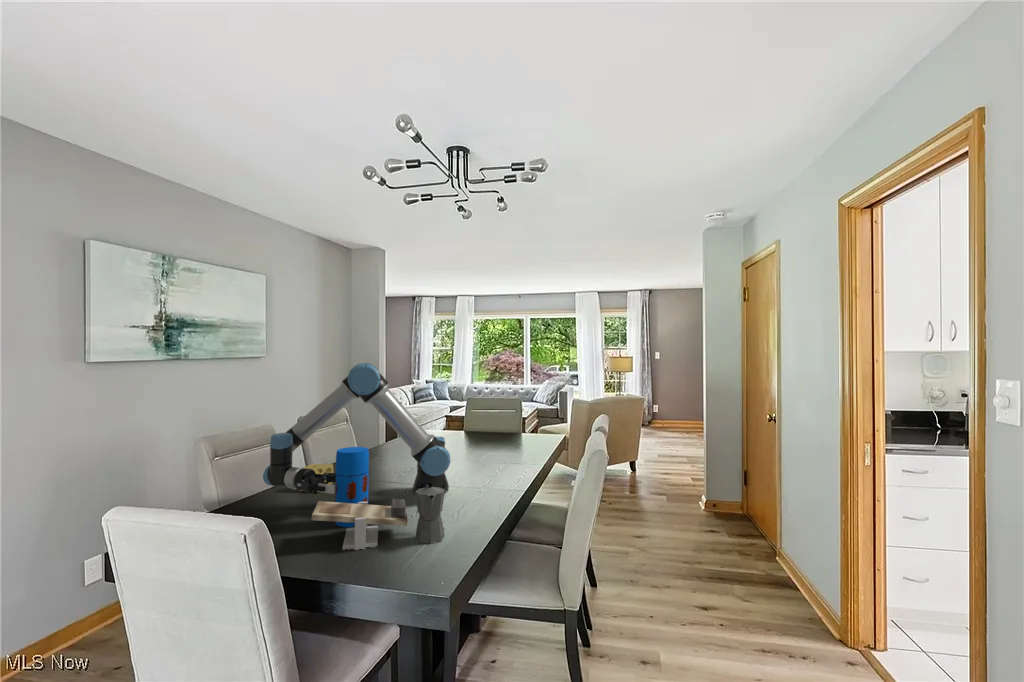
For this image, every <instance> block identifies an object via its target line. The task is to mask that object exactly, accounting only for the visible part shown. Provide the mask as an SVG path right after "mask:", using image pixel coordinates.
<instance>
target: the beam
mask: <svg viewBox="0 0 1024 682" xmlns="http://www.w3.org/2000/svg"><path fill="white" fill-rule="evenodd" d="M361 517H366V523H368V524H369V525H370V524H372V525H384V526H385V525H389V526H401V527H402V526H406V527H407V526H408V514H407V506H406V500H405V498H404V499H403V498H398V499H397V498H392V499H391V505H378V504H369V503H368V504H353V503H339V502H336V501H323V500H318V502H317V504H316V506H315V508H314V510H313V512H312V514H311V521H316V522H317V521H322V522H335V523H336V522H351V523H355V518H361ZM368 524H367V525H368Z"/></svg>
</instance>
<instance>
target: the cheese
mask: <svg viewBox="0 0 1024 682" xmlns="http://www.w3.org/2000/svg"><path fill="white" fill-rule="evenodd" d="M302 468H305V469H312V470H314V471H315V473H316V474H323V473H334V464H332V463H329V464H328V463H327V464H321V463H311V464H308V465H306V466H304V467H302ZM325 482H326V480H325ZM328 484H329V485H333V482H330V483H328ZM302 491H304V490H299V489H298V492H302ZM317 492H318V491H317ZM312 493H313V491H312Z"/></svg>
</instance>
